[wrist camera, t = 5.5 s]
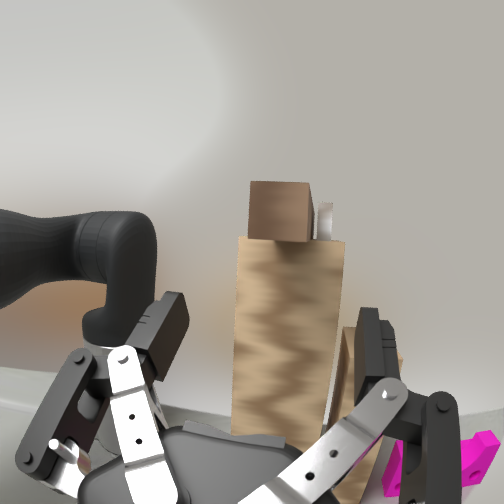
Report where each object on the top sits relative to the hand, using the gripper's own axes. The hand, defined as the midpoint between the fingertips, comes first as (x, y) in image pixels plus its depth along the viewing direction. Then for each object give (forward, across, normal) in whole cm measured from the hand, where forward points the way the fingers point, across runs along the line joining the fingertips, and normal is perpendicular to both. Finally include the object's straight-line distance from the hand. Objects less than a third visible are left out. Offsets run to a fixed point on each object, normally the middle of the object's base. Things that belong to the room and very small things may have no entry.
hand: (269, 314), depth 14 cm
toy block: (+1, +22, -34) cm, 40 cm away
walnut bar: (+15, 0, -5) cm, 16 cm away
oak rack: (+1, +3, -33) cm, 33 cm away
